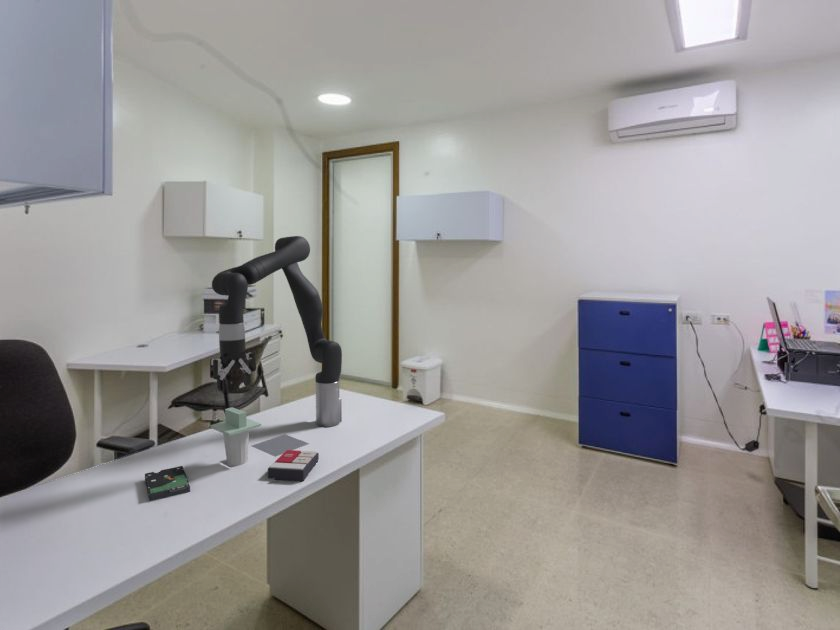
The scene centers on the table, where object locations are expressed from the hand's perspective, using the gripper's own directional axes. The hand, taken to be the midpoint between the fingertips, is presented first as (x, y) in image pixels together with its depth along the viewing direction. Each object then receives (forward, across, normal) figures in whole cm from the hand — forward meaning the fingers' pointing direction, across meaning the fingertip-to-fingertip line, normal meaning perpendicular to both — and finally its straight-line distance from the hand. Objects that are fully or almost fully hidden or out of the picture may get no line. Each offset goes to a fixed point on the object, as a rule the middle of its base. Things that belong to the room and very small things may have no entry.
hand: (234, 388), depth 151 cm
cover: (+13, 0, 0) cm, 13 cm away
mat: (+25, -17, -1) cm, 30 cm away
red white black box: (+25, -8, +18) cm, 32 cm away
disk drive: (+25, +21, -2) cm, 33 cm away
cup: (+25, 0, 0) cm, 25 cm away
